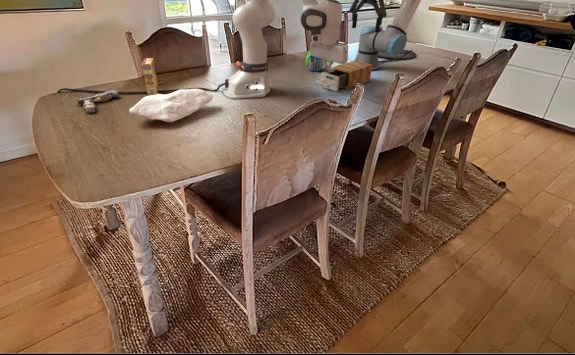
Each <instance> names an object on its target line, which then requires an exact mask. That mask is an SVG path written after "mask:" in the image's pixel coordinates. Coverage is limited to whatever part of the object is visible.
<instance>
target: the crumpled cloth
mask: <svg viewBox="0 0 575 355" xmlns="http://www.w3.org/2000/svg"><path fill="white" fill-rule="evenodd" d="M180 89H181V90H177V91H172V92H171V93H167V94H163V93H158V94H156V95H150V96H148V95H146V96H144V97H142V98H141V99H140V100H139V101H138V102H137V103H136V104H134V105H133V106H132V107H131V108H129V114H130V115H135V116H140V117H145V118H146V119H149V120H152V121H155V120H158V121H163V122H166V123H174V122H176V121H178V120H181V119H183V118H185V117H188V116H190V115H192V114H193V113H195V112H196V111H197V110H199V109H200V108H202V107H204V106H206V105H207V104H210V102H211V101H212V100H213V99H214V98H213V97H214V96H213V94H212V93H210V92H209V91H207V90H202V89H186V88H180Z"/></svg>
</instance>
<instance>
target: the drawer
mask: <svg viewBox="0 0 575 355" xmlns="http://www.w3.org/2000/svg"><path fill="white" fill-rule="evenodd" d="M320 78H321V79H320V80H316V81H315V82H314V84H315V85H317V86H320V87H321V88H325V89H328V90H331V91H334V92H338V91H339V89H342V87H345V86H348V78H349V73H346V72H342V71H339V70H334V71H333V70H330V71H327V72H325V71H322V72H321V77H320Z"/></svg>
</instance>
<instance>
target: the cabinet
mask: <svg viewBox="0 0 575 355" xmlns="http://www.w3.org/2000/svg"><path fill="white" fill-rule="evenodd" d="M334 70H339V71H342V72H346V73H349V78H348V86H345V87H342V88H343V89H346V90H351V89H354V88H356V87H355V85H356V84H357V83H363V84H362V85H364V84H368V83H370V82H371V76H372V71H373V70H372V65H371V64H367V63H363V62H359V61H354V60H351V61H347V62H346V63H344V64H338V65H335V66H332V71H334ZM342 88H341V89H342Z"/></svg>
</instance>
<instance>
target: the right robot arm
mask: <svg viewBox="0 0 575 355" xmlns="http://www.w3.org/2000/svg"><path fill="white" fill-rule="evenodd" d="M421 2H422V0H403V1H402V3H401V5H400V7H399V8H398V10H397V13H396V14H395V16H394V18H393V20H392V22H391V23H390V24H388V25H387V26H386V28H385V29H383V26H382V24H383V19H384V18H386V17H387V16H388V14H387V9H386V5H385V0H353V2H352V4H351V6H350V8H349V10H348V12H349V13H351V21H352V22H351V29H356V28H357V23H358V16H359V14H358V12H359V11H360V10H361V9H362V7H363V6H364V5H372V7H373V9H374V11H375V13H376V15H377V18H376V22H375V25H367V26H363V27H361V29H360V34H359V41H358V50H357V54H356V56H355V58H354V60H353V61H359V62H363V63H367V64H371V65H372V71H376V70H377V71H378V69H379V68H380V64H381V63H387V62H395V61H399V60H400V59H399V58H397V59H395V58H391V59H386V60H385V59H384V60H379V56H378V52H381V53H385V54H388V55H398V54H400V53H401V52H402V51H403V49H404V50H405V47H406V46H407V42H408V37H407V33H408V32H407V29H408V27H409V25H410V23H411V21H412V20H413V17H414V15H415V14H416V12H417V9H418V8H419V6H420V3H421ZM409 52H414V51H413V49H411V50H408V52H406V53H405V54H404V55H403V56H402V57H404V56H405V55H406V54H407V53H409ZM402 57H400V58H402Z"/></svg>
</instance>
